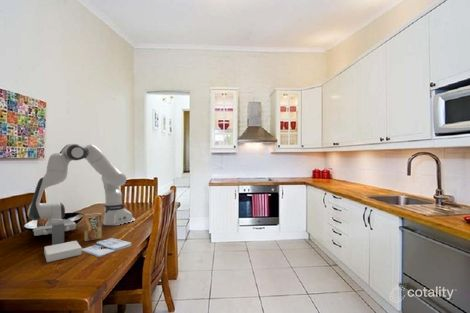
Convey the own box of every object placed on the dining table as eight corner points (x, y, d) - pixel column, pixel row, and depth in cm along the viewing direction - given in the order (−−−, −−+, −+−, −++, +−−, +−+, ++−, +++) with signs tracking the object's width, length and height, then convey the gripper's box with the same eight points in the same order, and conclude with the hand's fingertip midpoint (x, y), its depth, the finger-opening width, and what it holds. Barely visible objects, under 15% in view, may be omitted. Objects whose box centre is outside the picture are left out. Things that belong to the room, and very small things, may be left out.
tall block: (62, 242, 141) (62, 221, 141) (64, 244, 138) (64, 223, 138) (52, 244, 138) (52, 223, 138) (53, 246, 134) (53, 225, 134)
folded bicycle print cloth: (132, 246, 138) (132, 242, 138) (97, 259, 120) (97, 254, 120) (112, 240, 147) (112, 236, 147) (77, 251, 130) (77, 247, 130)
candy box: (101, 236, 151) (101, 212, 151) (101, 238, 147) (101, 213, 147) (84, 239, 147) (84, 214, 147) (84, 241, 143) (84, 215, 143)
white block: (76, 246, 134) (76, 240, 134) (81, 254, 124) (81, 247, 124) (44, 253, 125) (44, 246, 125) (47, 262, 115) (47, 255, 115)
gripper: (32, 224, 144) (34, 229, 134) (73, 218, 158) (77, 222, 147) (32, 234, 144) (33, 240, 134) (73, 228, 158) (77, 233, 147)
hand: (57, 231), depth 141 cm, fingers open, 8 cm apart
